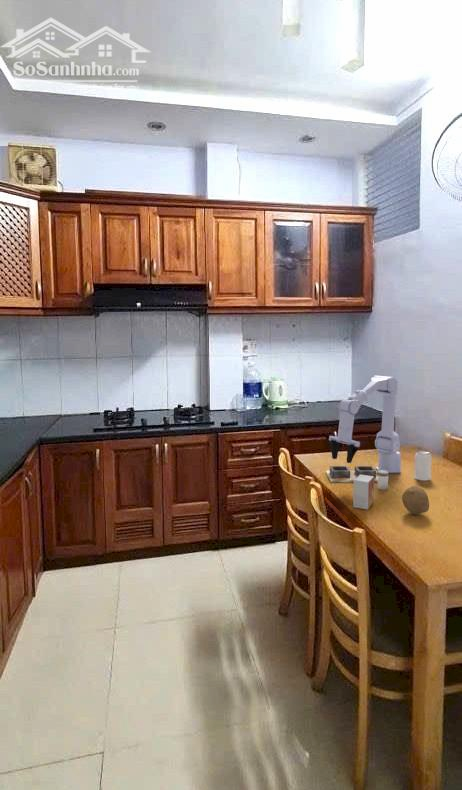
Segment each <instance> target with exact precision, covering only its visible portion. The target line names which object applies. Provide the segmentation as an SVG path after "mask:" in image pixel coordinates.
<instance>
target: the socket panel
mask: <svg viewBox="0 0 462 790" xmlns="http://www.w3.org/2000/svg"><path fill="white" fill-rule="evenodd" d="M376 470H377V469H376V468H374V466H372V465H354V470H351V469H350V468H349V467H348V465H329V469H328V470H326V469H325V473H326V475H327V477H328V479H329V482H330V483H354V479H356V478H357V477H358V476H359V475H360V474H361V475H368V476H374V483H378V474H377V471H376Z"/></svg>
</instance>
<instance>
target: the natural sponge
mask: <svg viewBox="0 0 462 790" xmlns="http://www.w3.org/2000/svg"><path fill="white" fill-rule="evenodd" d="M401 501H402V504H403V506H404V507H405V509H406V510H407V511H408V513H410V514H411V515H414V516H418V515H421V514H423V513H427V512H428V511H429V509H430V500H429V496H428V494H427V491H425V490H424V489H423V488H421V487H419V486H417V485H415V486H410V487H408V488H407V489H405V490H404V492H403V493H402V495H401Z"/></svg>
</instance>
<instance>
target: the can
mask: <svg viewBox="0 0 462 790" xmlns="http://www.w3.org/2000/svg"><path fill="white" fill-rule="evenodd" d="M413 475H414V479H415V480H417V481H420V482H427V481H430V480H431V475H432V454H431V451H429V450H426V449H425V450H423V449H421V450H420V449H419V450H416V453H415V454H414V474H413Z"/></svg>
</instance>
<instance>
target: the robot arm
mask: <svg viewBox="0 0 462 790" xmlns="http://www.w3.org/2000/svg"><path fill="white" fill-rule="evenodd" d="M398 382H399V381H398V380H397V378H396V377H395V376H387V375H386V376H385V375H384V376H383V375H376V374H375V375H373V377H371V378H370V381H369V382H368V384H367V385H365V387H364V388H363V389H356V390H355V391H354V393H352V394H351V395H350V396H348V397H347V398H346V399H342V400H341V401H340V402H339V403H338V405H337V408H338V416H339V423H338V430H337V432H338V433H337V436H334V435H329V438H328V445H329V448H330V451H331V459H332V460H337V458H338V455H339V449H340V446H341V444H344V445H345V444H346V446H345V447H346V455H347V456H346V464H351V463H352V462H353V459H354V456H355V454H357V451H358V450H359V449H360V446H361V442H360V441H356V440H353V439H352V437H353V431H354V430H353V428H354V421H355V414H357V413H358V412H359V409H360V408H361V406H362V405H363V404H365V403H366V402H367V401H368V397H369V396H370V395H372V394H374V393H375V392H378V393H380V394H381V395H382V397H383V398H382V399H383V400H382V402H383V403H382V412H381V413H382V414H381V415H382V416H381V430H380V431H378V432H377V433H376V438H375V440H374V446H375V448H376V449H377V452H378V462H377V463H378V466H376V467H375V470H377V472H378V471H379V470H386V471H388V472H389V473H390V474H391V473H396V474H399V473H400V474H401V473H402V469H401V468H402V455H401V452H400V451H399V450H400V447H401V443H400V436H399V434H398V433H397V432H396V431H395V429H394V428H395V415H396V397H397V394H398V385H399V384H398ZM389 473H388V474H389Z"/></svg>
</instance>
